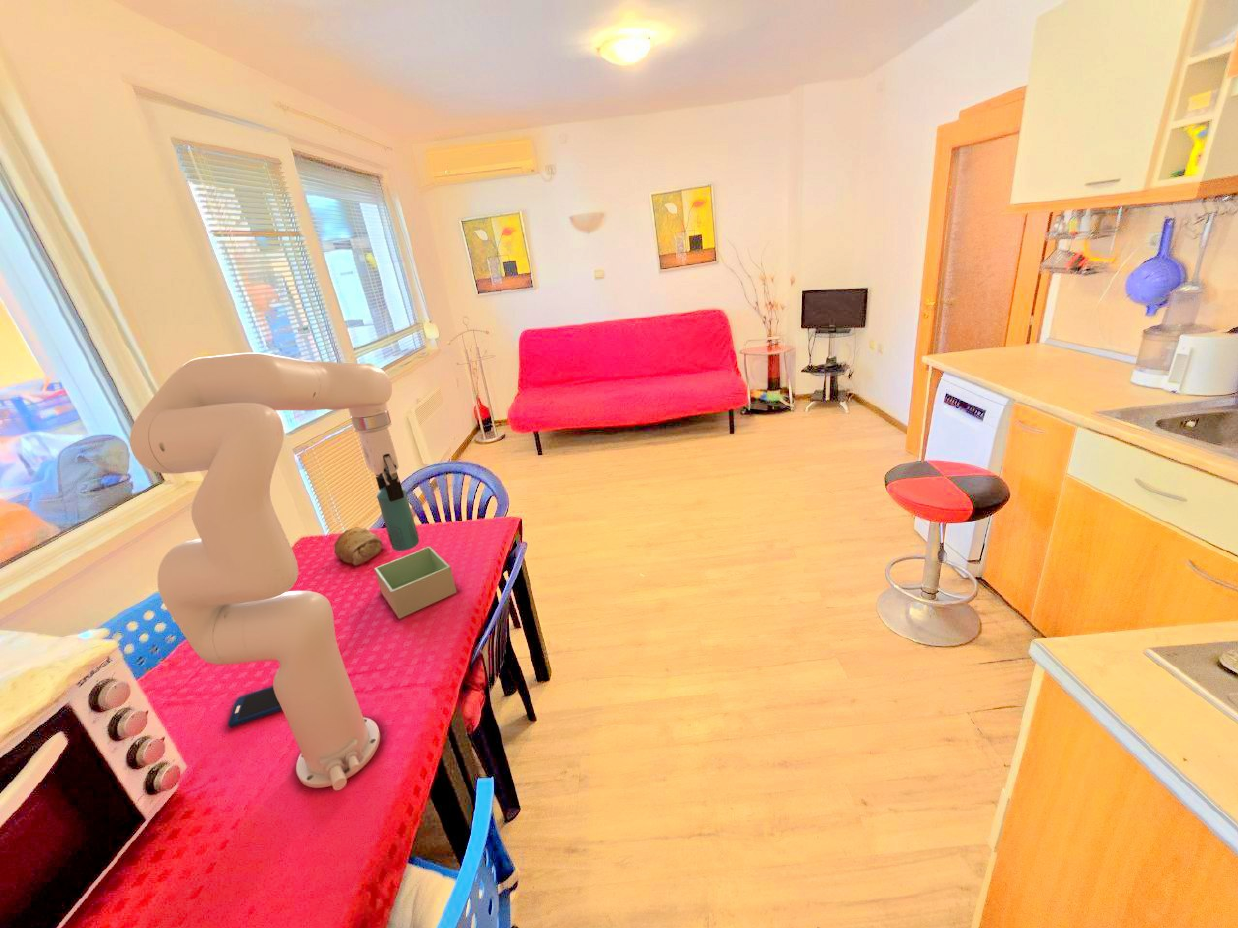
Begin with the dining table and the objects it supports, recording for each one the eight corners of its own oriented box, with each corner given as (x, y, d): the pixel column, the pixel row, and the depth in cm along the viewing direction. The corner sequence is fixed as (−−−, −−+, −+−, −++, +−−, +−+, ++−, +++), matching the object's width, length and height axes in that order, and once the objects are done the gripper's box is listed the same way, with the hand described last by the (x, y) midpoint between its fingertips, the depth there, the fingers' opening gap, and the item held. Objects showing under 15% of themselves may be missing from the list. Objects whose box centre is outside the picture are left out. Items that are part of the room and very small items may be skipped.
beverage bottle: (427, 546, 123) (407, 471, 116) (403, 559, 118) (381, 482, 111) (410, 540, 127) (390, 467, 119) (387, 553, 122) (364, 478, 114)
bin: (456, 592, 126) (450, 566, 123) (399, 619, 118) (391, 591, 115) (436, 570, 136) (429, 546, 134) (381, 593, 128) (374, 568, 125)
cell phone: (237, 700, 98) (236, 697, 98) (317, 674, 103) (316, 671, 103) (227, 729, 92) (226, 725, 91) (313, 699, 97) (312, 696, 96)
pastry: (344, 546, 153) (336, 523, 150) (387, 539, 156) (380, 516, 153) (330, 571, 140) (322, 546, 137) (378, 562, 143) (370, 537, 140)
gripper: (344, 418, 115) (365, 490, 121) (363, 433, 102) (386, 511, 109) (378, 411, 119) (396, 480, 126) (401, 423, 106) (420, 500, 113)
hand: (391, 494), depth 117 cm, fingers closed on beverage bottle, 6 cm apart
